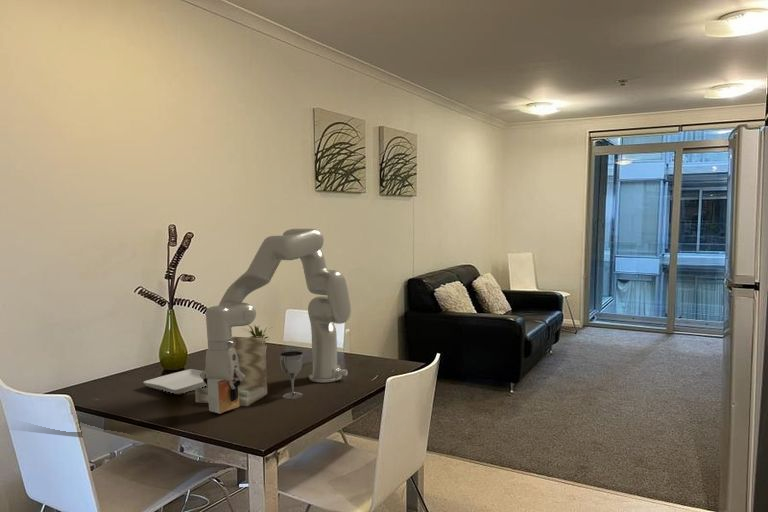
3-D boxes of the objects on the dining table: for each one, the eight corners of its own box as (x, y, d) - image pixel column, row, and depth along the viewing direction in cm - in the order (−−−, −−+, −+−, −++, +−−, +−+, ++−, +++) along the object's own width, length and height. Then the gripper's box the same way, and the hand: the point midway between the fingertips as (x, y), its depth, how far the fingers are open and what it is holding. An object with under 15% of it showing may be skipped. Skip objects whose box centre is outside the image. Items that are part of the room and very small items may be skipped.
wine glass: (294, 400, 186) (292, 357, 185) (276, 397, 190) (274, 354, 189) (309, 394, 193) (307, 352, 192) (292, 390, 197) (290, 349, 196)
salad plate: (191, 375, 221) (190, 367, 221) (225, 383, 209) (224, 375, 209) (141, 390, 204) (141, 381, 204) (176, 399, 192) (175, 390, 192)
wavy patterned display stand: (267, 393, 194) (264, 338, 193) (247, 406, 182) (245, 346, 180) (218, 390, 200) (215, 336, 199) (195, 402, 188) (192, 344, 186)
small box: (219, 414, 172) (217, 381, 171) (208, 411, 176) (206, 378, 175) (240, 406, 179) (238, 374, 178) (229, 403, 182) (227, 372, 181)
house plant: (233, 360, 242) (231, 324, 241) (257, 354, 254) (255, 319, 252) (255, 365, 234) (253, 327, 233) (279, 357, 245) (277, 321, 244)
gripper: (250, 342, 177) (253, 396, 178) (203, 341, 182) (207, 393, 183) (237, 348, 169) (241, 405, 171) (189, 346, 174) (193, 401, 176)
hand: (223, 398), depth 177 cm, fingers closed on small box, 7 cm apart
